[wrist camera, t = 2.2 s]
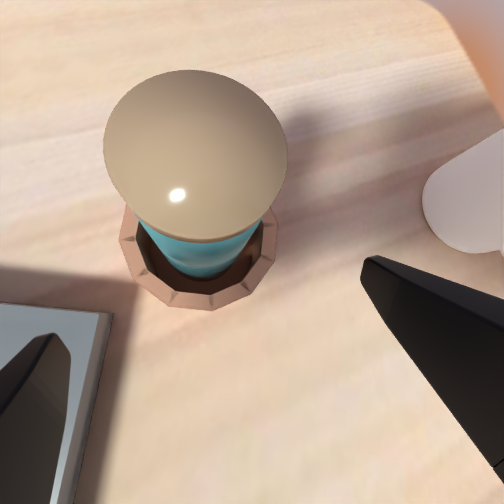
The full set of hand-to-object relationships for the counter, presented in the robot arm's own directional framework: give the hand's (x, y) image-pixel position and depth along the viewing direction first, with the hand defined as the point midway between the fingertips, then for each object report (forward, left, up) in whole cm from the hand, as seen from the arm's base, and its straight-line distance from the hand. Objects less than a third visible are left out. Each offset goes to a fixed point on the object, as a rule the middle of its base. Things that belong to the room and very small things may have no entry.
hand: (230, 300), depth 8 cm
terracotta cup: (+1, -4, -11) cm, 12 cm away
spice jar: (+1, -4, -11) cm, 11 cm away
